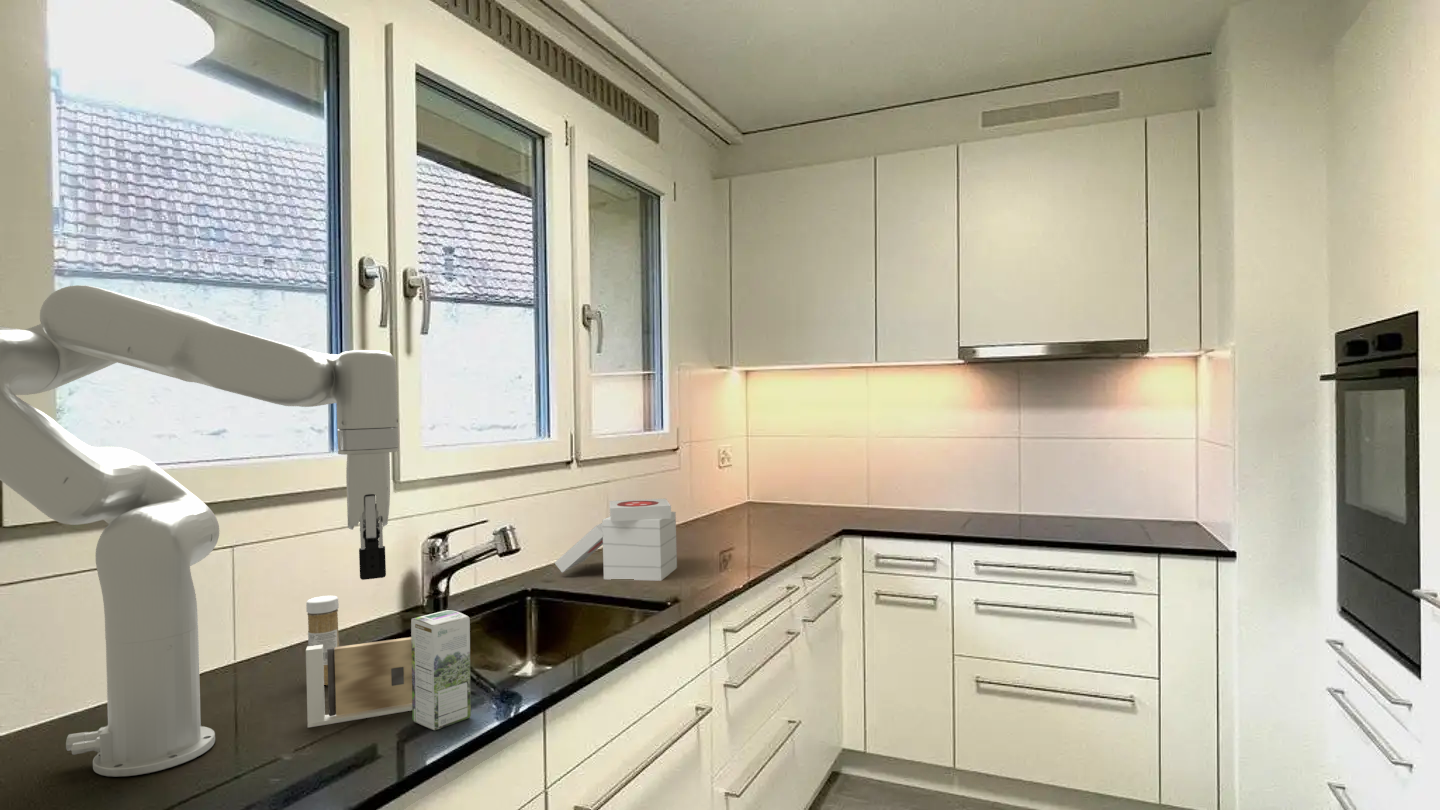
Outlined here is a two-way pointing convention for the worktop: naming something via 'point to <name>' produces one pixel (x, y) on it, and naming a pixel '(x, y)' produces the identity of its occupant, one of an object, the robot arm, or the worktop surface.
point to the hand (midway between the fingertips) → (373, 577)
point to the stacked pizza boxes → (631, 541)
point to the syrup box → (440, 669)
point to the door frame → (317, 694)
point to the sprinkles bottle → (323, 625)
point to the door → (369, 676)
